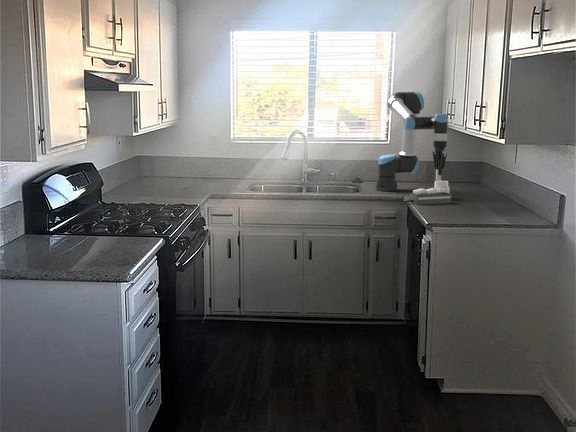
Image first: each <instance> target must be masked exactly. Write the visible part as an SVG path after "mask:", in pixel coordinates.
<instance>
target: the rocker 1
mask: <svg viewBox="0 0 576 432" xmlns="http://www.w3.org/2000/svg"><path fill="white" fill-rule="evenodd" d="M424 192H426V189H425V188H422V187H421V188H417V189H413V190H412V193H414V194H420V193H424Z"/></svg>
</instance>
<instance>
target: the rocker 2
mask: <svg viewBox="0 0 576 432" xmlns="http://www.w3.org/2000/svg"><path fill="white" fill-rule="evenodd" d="M434 192H437V189H436V188H434V187H431V188H427V189H426V192H424V193H427V194H430V193H434Z"/></svg>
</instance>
